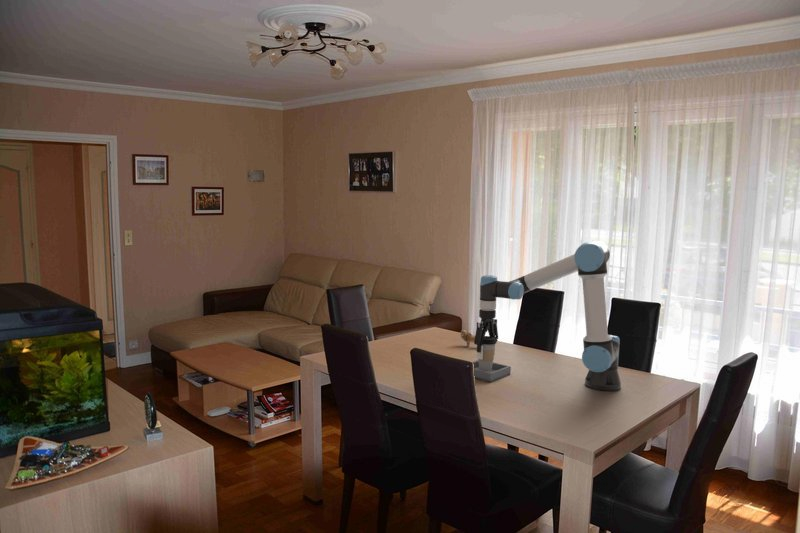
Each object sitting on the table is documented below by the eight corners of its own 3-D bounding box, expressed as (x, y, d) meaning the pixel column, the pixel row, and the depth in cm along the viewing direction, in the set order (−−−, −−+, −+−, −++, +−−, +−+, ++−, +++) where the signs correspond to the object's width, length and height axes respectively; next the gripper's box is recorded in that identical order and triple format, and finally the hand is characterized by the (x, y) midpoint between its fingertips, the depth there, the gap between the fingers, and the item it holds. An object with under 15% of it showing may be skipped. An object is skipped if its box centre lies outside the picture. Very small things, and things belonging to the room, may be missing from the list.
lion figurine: (458, 346, 332) (459, 330, 331) (461, 344, 337) (462, 328, 336) (484, 350, 326) (485, 333, 325) (487, 348, 331) (487, 331, 330)
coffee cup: (494, 367, 284) (496, 336, 283) (496, 372, 275) (497, 340, 273) (474, 366, 285) (475, 335, 284) (475, 371, 276) (476, 339, 274)
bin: (510, 374, 281) (510, 366, 281) (490, 382, 269) (490, 373, 268) (479, 367, 292) (480, 359, 292) (459, 374, 280) (459, 366, 279)
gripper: (493, 305, 288) (491, 351, 290) (467, 311, 271) (465, 359, 274) (507, 307, 283) (505, 354, 285) (481, 313, 266) (479, 363, 269)
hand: (485, 356), depth 279 cm, fingers closed on coffee cup, 9 cm apart
